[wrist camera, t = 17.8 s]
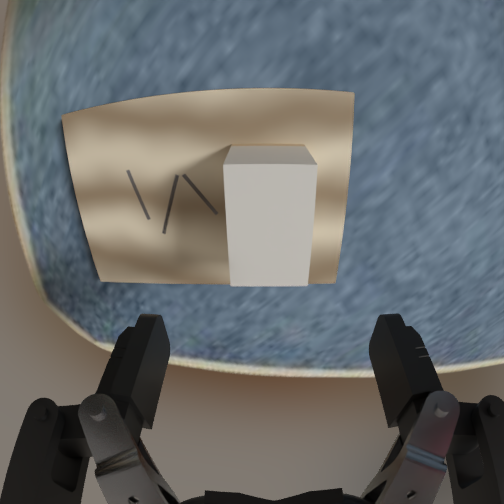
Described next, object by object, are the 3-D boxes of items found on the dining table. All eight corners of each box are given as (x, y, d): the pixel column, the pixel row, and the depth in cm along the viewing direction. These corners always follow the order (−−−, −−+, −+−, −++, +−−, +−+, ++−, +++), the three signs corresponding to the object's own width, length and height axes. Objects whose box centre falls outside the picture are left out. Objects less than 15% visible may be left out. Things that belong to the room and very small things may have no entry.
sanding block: (231, 143, 20) (223, 164, 16) (303, 144, 20) (317, 164, 16) (236, 243, 25) (230, 286, 20) (299, 243, 25) (307, 286, 20)
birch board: (71, 112, 20) (61, 115, 19) (348, 91, 19) (354, 92, 18) (106, 272, 29) (100, 281, 27) (332, 273, 28) (335, 283, 27)
